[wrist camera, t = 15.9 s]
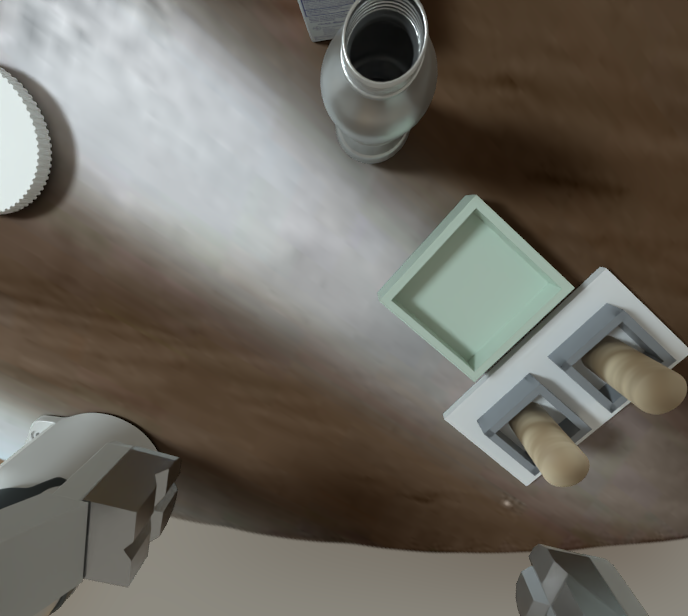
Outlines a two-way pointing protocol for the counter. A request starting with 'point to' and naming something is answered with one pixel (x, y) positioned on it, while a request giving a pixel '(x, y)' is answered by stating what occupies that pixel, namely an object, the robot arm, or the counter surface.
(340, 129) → the plastic bottle
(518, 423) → the cylinder
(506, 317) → the tote
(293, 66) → the counter surface
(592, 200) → the counter surface
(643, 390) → the cylinder
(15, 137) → the plastic lid
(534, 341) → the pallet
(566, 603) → the robot arm
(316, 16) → the medicine box
